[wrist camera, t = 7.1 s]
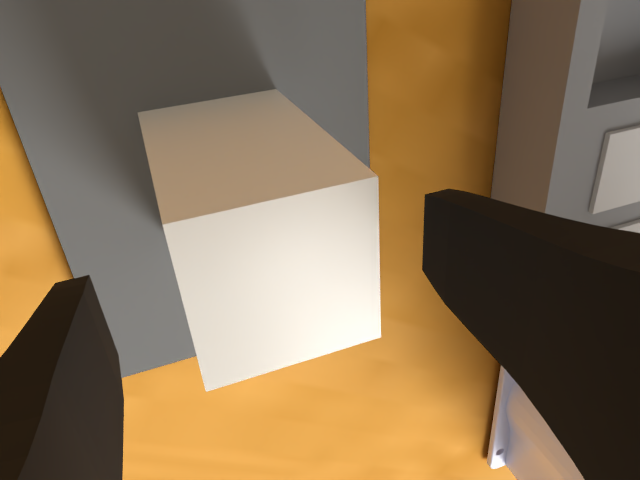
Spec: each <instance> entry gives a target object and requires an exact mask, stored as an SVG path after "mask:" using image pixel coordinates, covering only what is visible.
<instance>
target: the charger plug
mask: <svg viewBox="0 0 640 480" xmlns="http://www.w3.org/2000/svg"><path fill="white" fill-rule="evenodd" d="M137 113H138V117H139V122H140V126H141V131H142V135H143V140H144V144H145V149H146V153H147V158H148V162H149V167H150V171H151V176H152V180H153V185H154V189H155V194H156V198H157V203H158V207H159V212H160V216H161V221H162V225H163V229H164V233H165V237H166V240H167V244H168V248H169V252H170V256H171V260H172V263H173V267H174V271H175V275H176V279H177V282H178V286H179V290H180V294H181V298H182V302H183V305H184V309H185V313H186V317H187V321H188V325H189V328H190V332H191V336H192V340H193V344H194V348H195V351H196V355H197V359H198V363H199V367H200V371H201V374H202V378H203V382H204V386H205V390H206V392H207V391H210V390H214V389H217V388H220V387H223V386H226V385H230V384H233V383H236V382H239V381H242V380H246V379H249V378H252V377H255V376H258V375H262V374H265V373H268V372H271V371H274V370H278V369H281V368H284V367H287V366H290V365H294V364H297V363H300V362H303V361H306V360H310V359H313V358H316V357H319V356H322V355H326V354H329V353H332V352H335V351H338V350H342V349H345V348H348V347H351V346H354V345H358V344H361V343H364V342H367V341H370V340H374V339H377V338H380V337H381V315H380V252H379V189H378V175H376V174H375V173H374V172H373V171H372V170H371V169H369V168H368V167H367V166H366V165H365V164H363V163H362V162H361V161H360V160H359V159H358V158H356V157H355V156H354V155H353V154H352V153H351V152H349V151H348V150H347V149H346V148H345V147H344V146H342V145H341V144H340V143H339V142H338V141H337V140H335V139H334V138H333V137H332V136H331V135H329V134H328V133H327V132H326V131H325V130H324V129H322V128H321V127H320V126H319V125H318V124H317V123H315V122H314V121H313V120H312V119H311V118H310V117H308V116H307V115H306V114H305V113H304V112H303V111H301V110H300V109H299V108H298V107H297V106H295V105H294V104H293V103H292V102H291V101H290V100H288V99H287V98H286V97H285V96H284V95H283V94H281V93H280V92H279V91H278V90H277V89H273V90H267V91H261V92H255V93H249V94H244V95H238V96H232V97H226V98H220V99H214V100H208V101H202V102H196V103H190V104H184V105H178V106H173V107H167V108H161V109H155V110H149V111H143V112H137Z"/></svg>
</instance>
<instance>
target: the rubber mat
mask: <svg viewBox="0 0 640 480" xmlns="http://www.w3.org/2000/svg"><path fill="white" fill-rule="evenodd" d="M0 87H1V90H2V92H3V95H4V97H5V100H6V103H7V105H8V108H9V110H10V113H11V116H12V118H13V121H14V123H15V126H16V129H17V131H18V134H19V136H20V139H21V142H22V144H23V147H24V149H25V152H26V155H27V157H28V160H29V162H30V165H31V168H32V170H33V173H34V175H35V178H36V181H37V183H38V186H39V188H40V191H41V194H42V196H43V199H44V201H45V204H46V207H47V209H48V212H49V214H50V217H51V220H52V222H53V225H54V227H55V230H56V233H57V235H58V238H59V240H60V243H61V246H62V248H63V251H64V253H65V256H66V259H67V261H68V264H69V266H70V269H71V272H72V274H73V277H74V278H78V277H82V276H87V275H90V278H91V281H92V283H93V286H94V289H95V292H96V294H97V297H98V300H99V303H100V305H101V308H102V311H103V314H104V316H105V319H106V322H107V325H108V327H109V330H110V333H111V336H112V338H113V341H114V344H115V347H116V349H117V352H118V355H119V363H120V370H121V378H123V377H126V376H130V375H133V374H136V373H140V372H143V371H147V370H150V369H153V368H157V367H160V366H164V365H167V364H170V363H174V362H177V361H181V360H184V359H188V358H191V357H194V356H197V355H196V351H195V348H194V344H193V340H192V336H191V332H190V328H189V325H188V321H187V317H186V313H185V309H184V305H183V302H182V298H181V294H180V290H179V286H178V282H177V279H176V275H175V271H174V267H173V263H172V260H171V256H170V252H169V248H168V244H167V240H166V237H165V233H164V229H163V225H162V221H161V216H160V212H159V207H158V203H157V198H156V194H155V189H154V185H153V180H152V176H151V171H150V167H149V162H148V158H147V153H146V149H145V144H144V140H143V135H142V131H141V126H140V122H139V117H138V113H137V112H143V111H149V110H155V109H161V108H167V107H173V106H178V105H184V104H190V103H196V102H202V101H208V100H214V99H220V98H226V97H232V96H238V95H244V94H249V93H255V92H261V91H267V90H273V89H277V90H278V91H279V92H280V93H281V94H283V95H284V96H285V97H286V98H287V99H288V100H290V101H291V102H292V103H293V104H294V105H295V106H297V107H298V108H299V109H300V110H301V111H303V112H304V113H305V114H306V115H307V116H308V117H310V118H311V119H312V120H313V121H314V122H315V123H317V124H318V125H319V126H320V127H321V128H322V129H324V130H325V131H326V132H327V133H328V134H329V135H331V136H332V137H333V138H334V139H335V140H337V141H338V142H339V143H340V144H341V145H342V146H344V147H345V148H346V149H347V150H348V151H349V152H351V153H352V154H353V155H354V156H355V157H356V158H358V159H359V160H360V161H361V162H362V163H363V164H365V165H366V166H367V167H368V168H369V169H370V159H369V118H368V78H367V37H366V0H0Z"/></svg>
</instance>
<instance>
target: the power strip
mask: <svg viewBox="0 0 640 480" xmlns="http://www.w3.org/2000/svg"><path fill="white" fill-rule="evenodd" d="M491 198H492V199H495V200H499V201H502V202H506V203H510V204H513V205H517V206H520V207H524V208H528V209H531V210H535V211H539V212H542V213H546V214H550V215H554V216H558V217H562V218H566V219H571V220H575V221H579V222H584V223H588V224H592V225H597V226H602V227H608V228H613V229H619V230H625V231H631V232H637V233H640V0H512V4H511V14H510V23H509V32H508V42H507V51H506V60H505V70H504V79H503V88H502V97H501V107H500V116H499V125H498V135H497V144H496V153H495V163H494V172H493V181H492V191H491Z"/></svg>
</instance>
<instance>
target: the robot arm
mask: <svg viewBox="0 0 640 480" xmlns="http://www.w3.org/2000/svg"><path fill="white" fill-rule="evenodd" d="M422 270H423V272H424V273H425V275H426V276H427V278H428V279H429V281H430V283H431V284H432V286H433V287H434V289H435V290H436V292H437V293H438V294H439V296H440V297H441V299H442V300H443V302H444V303H445V304H446V305H447V306H448V308H449V309H450V310H451V311H452V312H453V313H454V314H455V315H456V316H457V318H458V319H459V320H460V321H461V322H462V323H463V324H464V325H465V326H466V328H467V329H468V330H469V331H470V332H471V333H472V334H473V335H474V336H475V337H476V338H477V339H478V341H479V342H480V343H481V344H482V345H483V346H484V347H485V348H486V349H487V350H488V351H489V352H490V354H491V355H492V356H493V357H494V358H495V359H496V360H497V361H498V362H499V363H500V364H501V368H500V375H499V381H498V388H497V395H496V402H495V409H494V416H493V423H492V430H491V436H490V443H489V450H488V457H487V464H488V465H489V466H490V468H492V469H496V468H499V467H501V466H504V465H506V466H507V467H508V468H509V469H510V471H511V472H512V473H513V475H514V476H515V477H516V479H517V480H640V233H637V232H631V231H625V230H619V229H613V228H608V227H602V226H597V225H592V224H588V223H584V222H579V221H575V220H571V219H566V218H562V217H558V216H554V215H550V214H546V213H542V212H539V211H535V210H531V209H528V208H524V207H520V206H517V205H513V204H510V203H506V202H502V201H499V200H495V199H492V198H488V197H484V196H481V195H477V194H473V193H469V192H464V191H459V190H453V189H446V190H442V191H438V192H434V193H429V194H425V206H424V236H423V266H422ZM123 420H124V397H123V388H122V378H121V370H120V363H119V355H118V352H117V349H116V347H115V344H114V341H113V338H112V336H111V333H110V330H109V327H108V325H107V322H106V319H105V316H104V314H103V311H102V308H101V305H100V303H99V300H98V297H97V294H96V292H95V289H94V286H93V283H92V281H91V278H90V275H87V276H82V277H78V278H74V279H70V280H66V281H62V282H57V283H55V284H54V286H53V287H52V288H51V290H50V291H49V292H48V294H47V295H46V296H45V298H44V299H43V301H42V302H41V303H40V305H39V306H38V308H37V309H36V310H35V312H34V313H33V315H32V316H31V318H30V319H29V320H28V322H27V323H26V324H25V326H24V327H23V329H22V330H21V331H20V333H19V334H18V335H17V337H16V338H15V339H14V341H13V342H12V343H11V345H10V346H9V347H8V349H7V350H6V351H5V353H4V354H3V355H2V356H1V357H0V480H122V468H123Z"/></svg>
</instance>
